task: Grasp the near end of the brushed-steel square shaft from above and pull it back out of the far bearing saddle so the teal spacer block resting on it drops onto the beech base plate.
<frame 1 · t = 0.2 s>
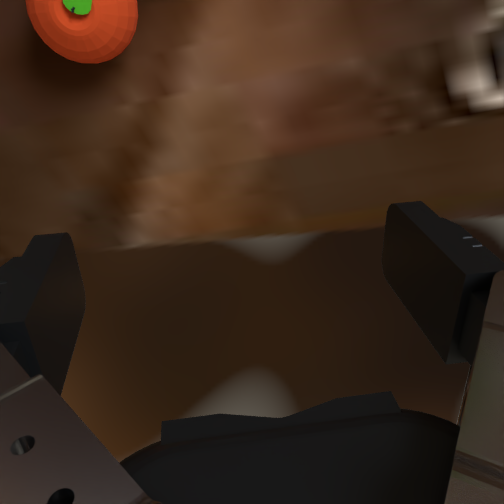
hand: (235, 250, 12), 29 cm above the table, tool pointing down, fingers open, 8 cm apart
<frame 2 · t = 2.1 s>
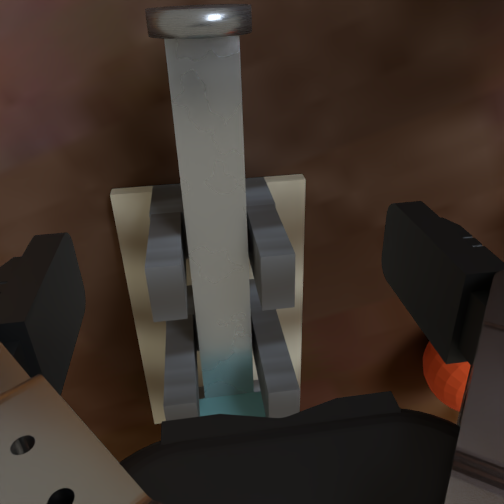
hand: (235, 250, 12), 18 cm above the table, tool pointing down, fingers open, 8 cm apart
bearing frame: (219, 309, 35), on the table
clementine: (450, 331, 39), on the table
shaft: (221, 297, 27), point 6 cm above the table, slide at 0.0 cm, touching spacer
spacer: (231, 420, 30), point 7 cm above the table, touching shaft
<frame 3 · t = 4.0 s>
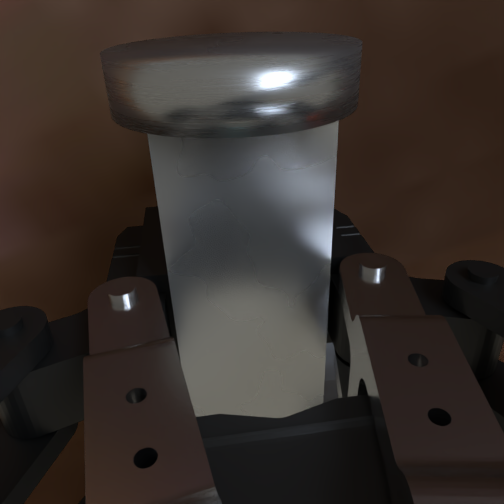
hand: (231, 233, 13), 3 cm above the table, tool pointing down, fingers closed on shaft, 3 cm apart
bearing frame: (242, 473, 23), on the table
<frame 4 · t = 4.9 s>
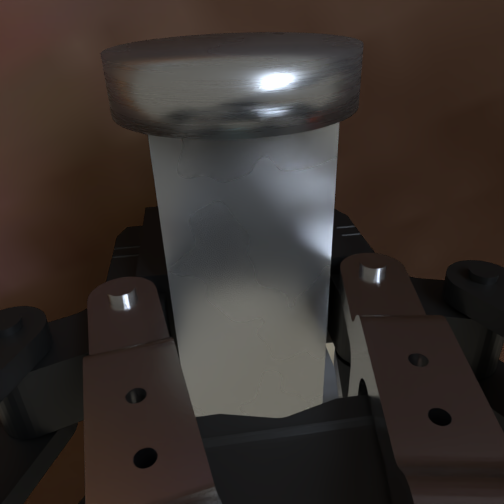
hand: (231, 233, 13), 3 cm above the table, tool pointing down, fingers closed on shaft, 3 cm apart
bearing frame: (243, 490, 24), on the table
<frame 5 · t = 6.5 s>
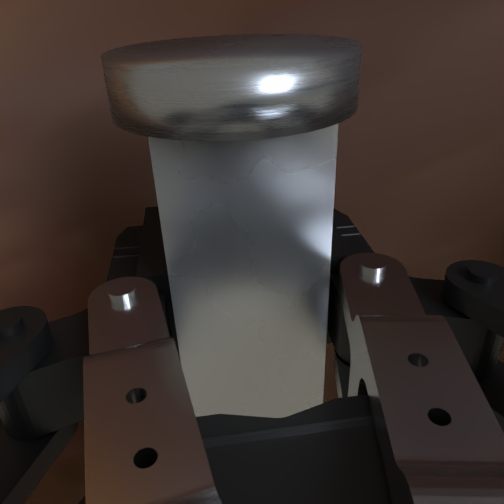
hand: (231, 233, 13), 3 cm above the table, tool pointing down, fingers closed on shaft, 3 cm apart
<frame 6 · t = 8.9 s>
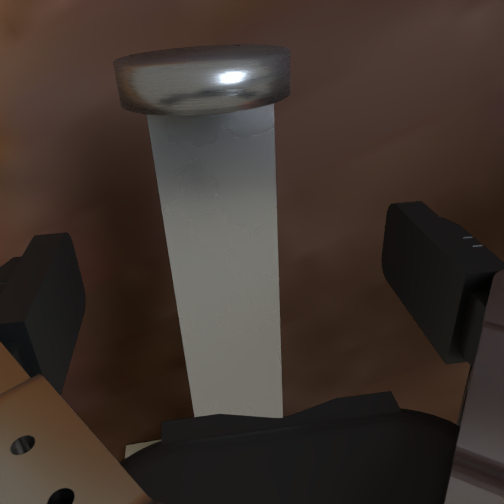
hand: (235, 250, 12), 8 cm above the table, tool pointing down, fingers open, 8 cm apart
shaft: (240, 447, 19), point 6 cm above the table, slide at 10.5 cm
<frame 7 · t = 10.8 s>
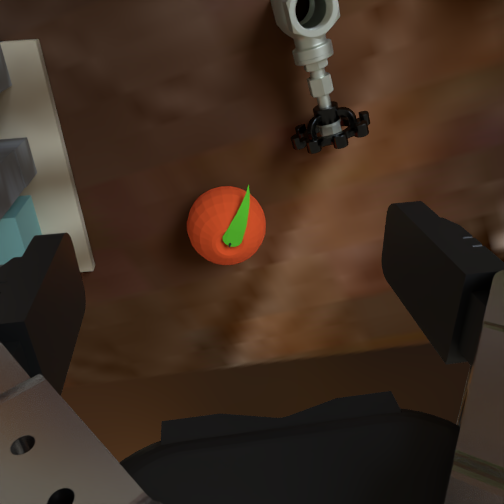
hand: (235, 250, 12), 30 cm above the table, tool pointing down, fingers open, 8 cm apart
clementine: (225, 203, 44), on the table
valve: (304, 56, 39), on the table
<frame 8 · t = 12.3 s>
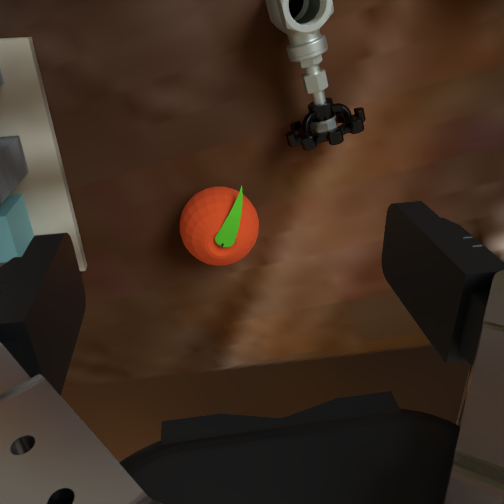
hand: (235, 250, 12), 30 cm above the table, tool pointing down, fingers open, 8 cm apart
clementine: (218, 204, 44), on the table
valve: (299, 52, 39), on the table
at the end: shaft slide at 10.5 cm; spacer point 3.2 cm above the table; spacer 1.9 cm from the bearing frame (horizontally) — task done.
